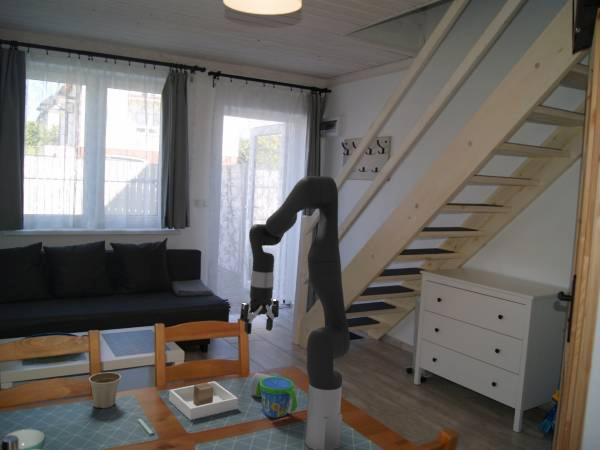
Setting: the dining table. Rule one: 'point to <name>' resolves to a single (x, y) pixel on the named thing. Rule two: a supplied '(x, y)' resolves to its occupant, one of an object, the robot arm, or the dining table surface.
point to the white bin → (220, 404)
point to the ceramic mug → (255, 382)
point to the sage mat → (145, 427)
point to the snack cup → (276, 396)
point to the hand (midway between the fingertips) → (258, 331)
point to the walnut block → (203, 394)
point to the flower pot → (104, 388)
